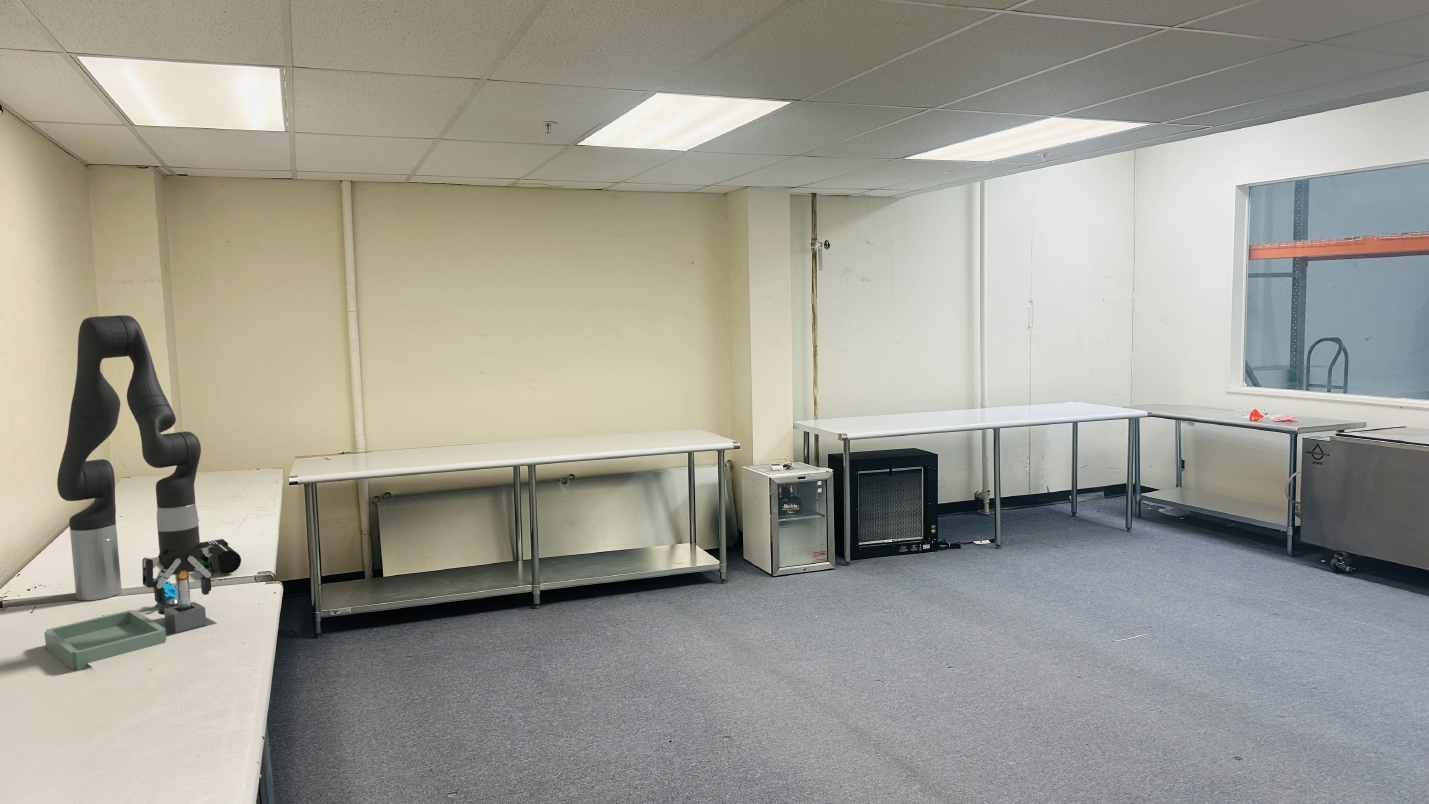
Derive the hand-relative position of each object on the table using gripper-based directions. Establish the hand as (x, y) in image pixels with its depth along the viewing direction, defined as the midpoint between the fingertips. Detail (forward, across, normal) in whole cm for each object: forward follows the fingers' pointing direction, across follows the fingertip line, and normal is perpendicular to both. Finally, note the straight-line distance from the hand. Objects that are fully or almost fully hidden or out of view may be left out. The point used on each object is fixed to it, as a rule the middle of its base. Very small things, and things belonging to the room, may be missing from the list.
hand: (183, 599), depth 191 cm
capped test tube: (+6, 0, 0) cm, 6 cm away
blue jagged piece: (+7, -4, -19) cm, 21 cm away
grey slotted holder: (+7, 0, -3) cm, 8 cm away
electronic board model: (+7, -22, -51) cm, 56 cm away
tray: (+7, +14, -3) cm, 16 cm away
